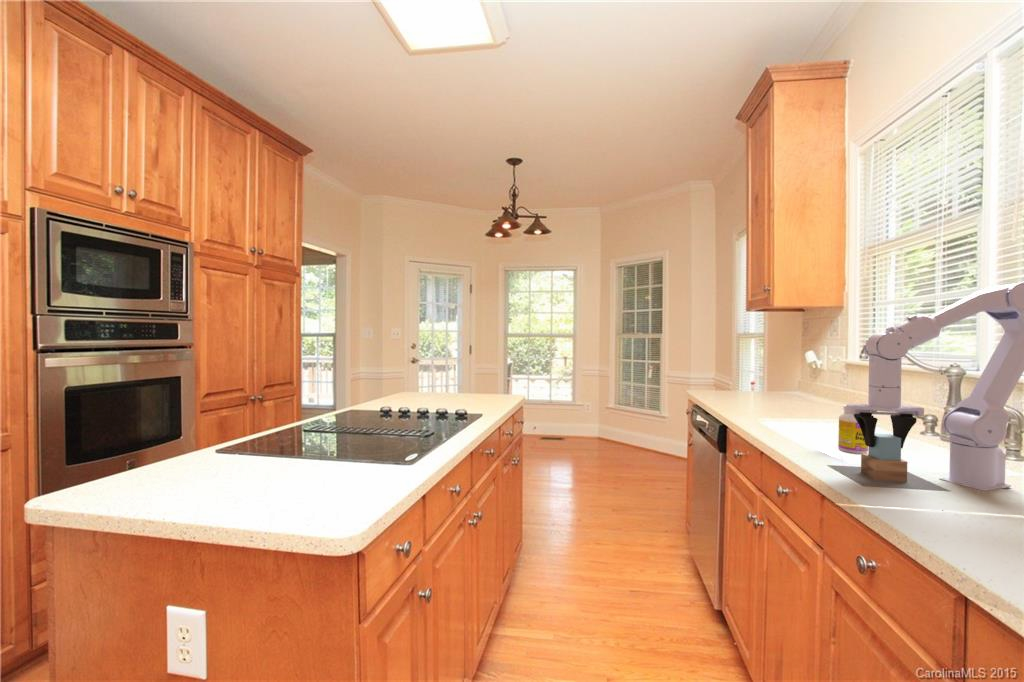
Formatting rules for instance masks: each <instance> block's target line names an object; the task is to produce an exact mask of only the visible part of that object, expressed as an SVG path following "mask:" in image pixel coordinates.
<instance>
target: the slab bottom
mask: <svg viewBox="0 0 1024 682" xmlns="http://www.w3.org/2000/svg"><path fill="white" fill-rule="evenodd" d="M860 467H861V473H863V474H865V475H867V476H869V477H871V478H873V479H875V480H882V481H900V482H907V472H908V471H907V472H901V471H882V470H875V469H873V468H871V467H869V466H867V465H865V464H862V463H861V462H860Z"/></svg>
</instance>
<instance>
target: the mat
mask: <svg viewBox="0 0 1024 682" xmlns="http://www.w3.org/2000/svg"><path fill="white" fill-rule="evenodd" d="M826 466H828V467H829V468H831V469H833V470H834V471H836V472H838V473H840V474H842V475H843V476H845V477H847V478H848V479H850V480H852V481H853V482H855V483H857V484H859V485H860V486H862V487H871V488H872V487H873V488H888V489H891V488H892V489H906V490H923V491H939V492H940V491H943V492H951V490H949V489H947V488H945V487H942V486H940V485H939V484H936V483H934V482H931V481H929V480H927V479H925V478H922V477H921V476H918V475H915V474H914V473H911V472H909V471H907V482H900V481H882V480H875V479H873V478H871V477H869V476H867V475H865V474H863V473H861V466H855V465H854V466H851V465H830V464H827V465H826Z"/></svg>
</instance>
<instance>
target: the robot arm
mask: <svg viewBox="0 0 1024 682" xmlns="http://www.w3.org/2000/svg"><path fill="white" fill-rule="evenodd" d="M983 312H984V313H986V315H988V316H989V317H990V318H992V319H993V320H994V321H995V322H997V323H998V324H999V325H1000V326H1001V328H1002V329H1003V330H1004V333H1003V335H1002V336H1001V338H1000V340H999V342H998V344H997V346H996V348H995V350H994V351H993V353H992V354H991V356H990V358H989V360H988V363H987V364H986V365H985V368H984V369H983V371H982V373H981V375H980V376H979V378H978V380H977V383H976V384H975V386H974V387H973V389H972V391H971V393H970V394H969V396H968V397H966V398H963V399H962V400H960V401H958V402H957V403H956V405H955V407H954V408H952V410H950V411H948V412H947V413H946V414H945V415H944V417H943V419H942V427H943V429H944V431H945V432H946V434H948V436H949V437H948V438H949V472H948V473H949V475H948V476H945V477H939V480H940V481H943V482H947V483H951V484H956V485H960V486H964V487H968V488H971V489H975V490H981V491H992V490H996V489H1005V488H1011V486H1012V485H1011V484H1009V483H1006V455H1005V453H1004V451H1003V450H1002V448H1001V447H999V444H1001V443H1002V442H1004V440H1005V439H1006V437H1007V434H1008V431H1007V425H1008V422H1009V421H1010V418H1011V417H1010V415H1009V414H1008V412H1007V410H1006V409H1005V405H1006V404H1007V402H1008V401H1009V398H1010V396H1011V395H1012V393H1013V391H1014V389H1015V387H1016V385H1017V384H1018V382H1019V380H1020V378H1021V377H1022V375H1023V374H1024V281H1022V282H1017V283H1010V284H1003V285H991V286H987V287H985V288H984V289H982V290H977V291H975V292H973V293H971V294H970V295H968V296H966V297H964V298H962V299H960V300H958V301H956V302H955V303H952V304H951V305H948V306H947V307H945V308H943V309H941V310H939V311H938V312H936V313H934V314H932V315H930V316H929V315H926V314H925V315H924V314H919V315H917V314H913V315H912V314H911V315H910V316H908V317H907V318H906V321H904V322H902V323H900V324H898V325H895V326H889V327H887V328H885V333H875V334H872V335H871V336H870V337H868V338H867V340H865V341H866V342H865V344H864V345H863V346H862V347H863V350H864V351H863V352H864V353H865V354H866V355H867V356H868V361H869V362H868V403H866V404H864V403H863V404H862V403H861V404H858V403H857V404H845V405H846V413H849V414H854V418H855V419H856V421H857V422H858V424H859V426H860V428H861V431H862V433H863V437H864V440H865V445H866V446H868V448H869V447H874V444H875V434H876V427H877V423H878V418H877V417H875V416H874V415H879V416H880V415H881V416H883V415H884V416H885V415H886V416H890V421H891V425H892V435H894V436H896V437H899V438H901V450H902V449H903V447H904V444H905V442H906V439H907V436H908V434H909V433H910V431H911V429H912V428H913V427H914V425H915V424H916V423H917V422H918V421H917V419H918V418H917V417H924V416H925V408H924V407H921V406H913V405H911V406H910V405H902V359H903V358H904V357H905V356H906V355H907V354H908V352H909V351H910V350H913V349H914V348H917V347H919V346H921V345H923V344H925V343H927V342H929V341H931V340H934V339H936V338H938V337H939V335H940V334H941V330H942V329H943V328H945V327H948V326H950V325H953V324H955V323H957V322H960V321H962V320H964V319H967V318H969V317H972V316H974V315H977V314H979V313H983ZM916 416H917V417H916Z"/></svg>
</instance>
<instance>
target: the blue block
mask: <svg viewBox="0 0 1024 682" xmlns="http://www.w3.org/2000/svg"><path fill="white" fill-rule="evenodd" d="M867 454H868V455H870V456H872V457H874V458H876V459H879V460H895V461H901V459H902V449H901V438H899V437H896V436H894V435H893V434H890V433H875V444H874V447H869V446H868V453H867Z"/></svg>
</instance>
